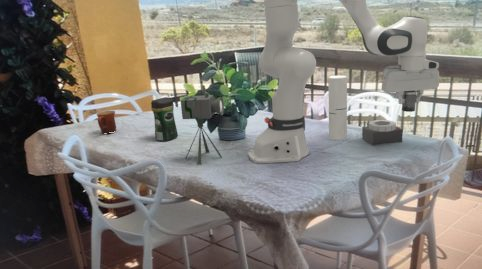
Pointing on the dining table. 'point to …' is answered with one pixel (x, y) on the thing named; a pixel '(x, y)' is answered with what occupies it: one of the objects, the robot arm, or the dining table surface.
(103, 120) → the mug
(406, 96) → the lens
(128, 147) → the dining table surface
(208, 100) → the camera
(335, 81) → the cylindrical container
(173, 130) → the coffee jar
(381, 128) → the camera body
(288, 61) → the robot arm
